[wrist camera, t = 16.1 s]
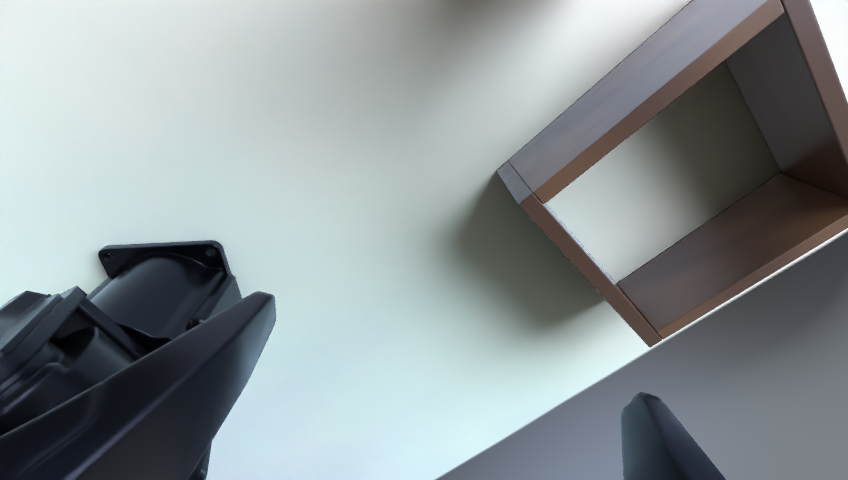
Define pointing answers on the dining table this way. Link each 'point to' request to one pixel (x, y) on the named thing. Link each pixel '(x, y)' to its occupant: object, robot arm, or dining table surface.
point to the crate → (752, 215)
